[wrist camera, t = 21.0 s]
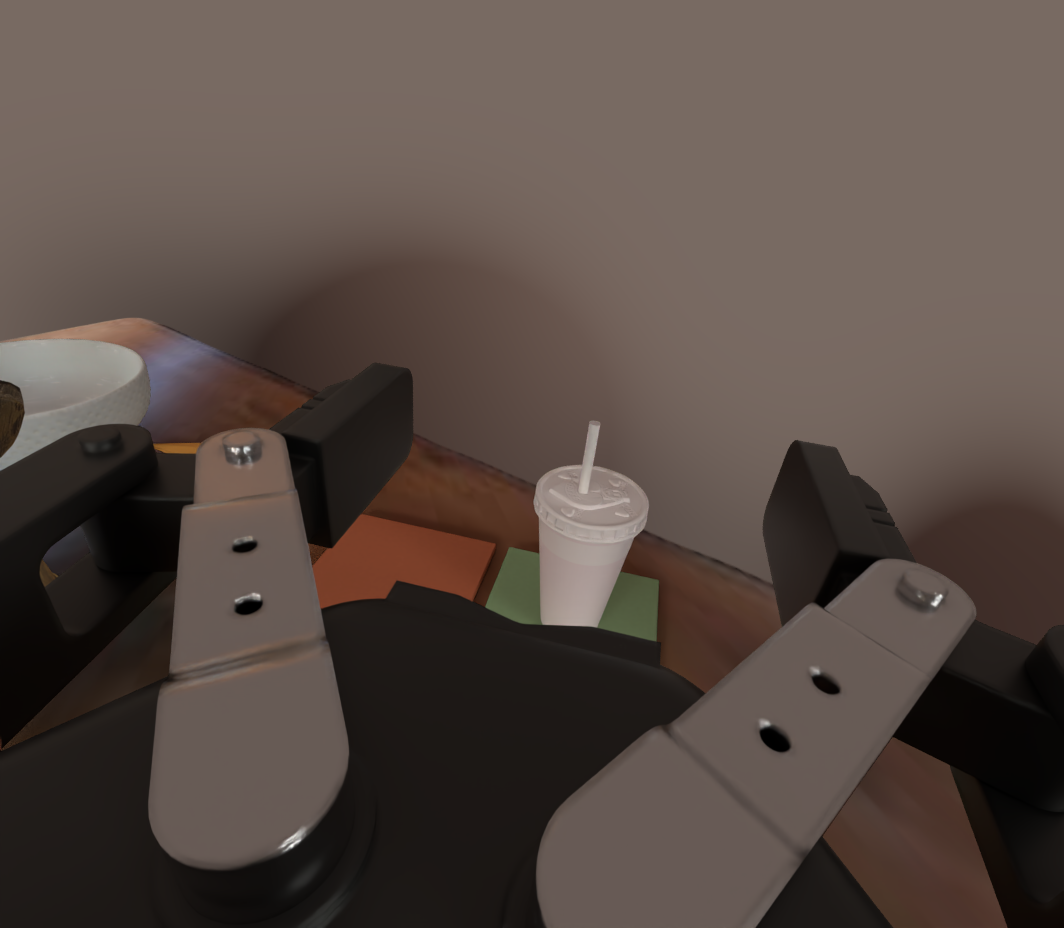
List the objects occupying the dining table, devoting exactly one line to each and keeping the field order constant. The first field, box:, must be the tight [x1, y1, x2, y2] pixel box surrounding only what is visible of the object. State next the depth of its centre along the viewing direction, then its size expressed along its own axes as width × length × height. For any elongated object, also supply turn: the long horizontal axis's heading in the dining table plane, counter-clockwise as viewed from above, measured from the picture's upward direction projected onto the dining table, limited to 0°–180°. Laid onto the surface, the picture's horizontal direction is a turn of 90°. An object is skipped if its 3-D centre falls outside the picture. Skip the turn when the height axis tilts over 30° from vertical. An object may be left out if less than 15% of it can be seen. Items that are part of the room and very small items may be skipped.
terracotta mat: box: [312, 514, 496, 609], centre depth 39 cm, size 11×11×1 cm
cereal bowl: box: [0, 339, 151, 471], centre depth 46 cm, size 17×17×7 cm
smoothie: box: [533, 421, 649, 627], centre depth 33 cm, size 6×6×14 cm
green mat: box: [485, 547, 659, 641], centre depth 37 cm, size 11×11×1 cm
